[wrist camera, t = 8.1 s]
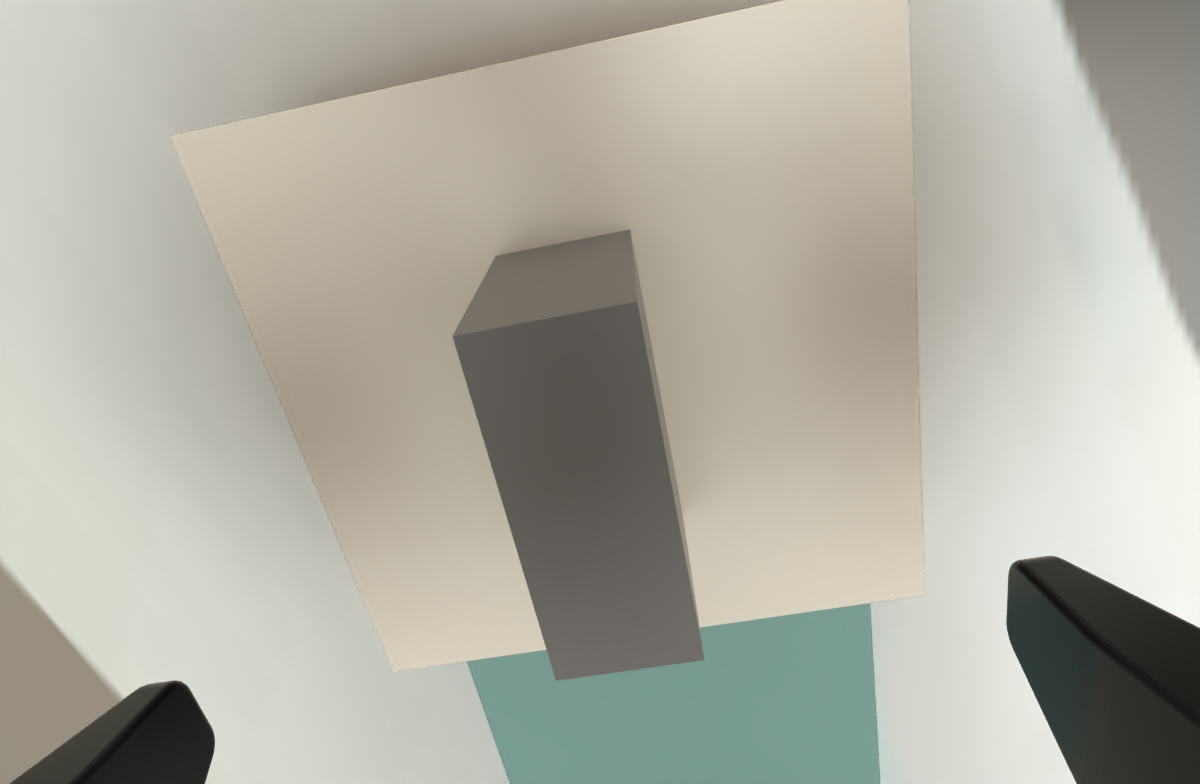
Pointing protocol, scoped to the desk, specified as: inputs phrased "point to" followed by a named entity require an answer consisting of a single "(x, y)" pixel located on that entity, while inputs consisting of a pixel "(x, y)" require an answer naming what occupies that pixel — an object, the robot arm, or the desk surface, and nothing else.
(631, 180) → the lid
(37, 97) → the desk surface
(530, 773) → the mat
